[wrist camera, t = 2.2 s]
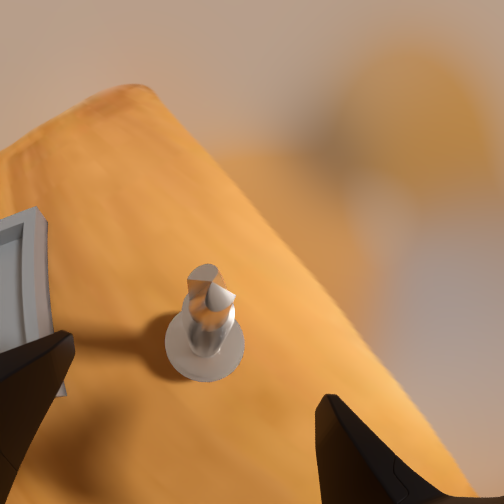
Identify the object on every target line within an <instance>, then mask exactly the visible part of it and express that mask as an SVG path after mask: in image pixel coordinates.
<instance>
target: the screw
mask: <svg viewBox="0 0 504 504" xmlns="http://www.w3.org/2000/svg"><path fill="white" fill-rule="evenodd" d="M187 283H188V292H189V293H188V294H187V295H186V297H185V299H184V302H183V306H182V311H181V312H180V313H179V314H177V315H176V316H175V317H174V318H173V320H172V321H171V323H170V324H169V326H168V329H167V331H166V336H165V349H166V353H167V356H168V358H169V360H170V362H171V364H172V365H173V366H174V368H175V369H176V370H177V371H178V372H179V373H181V374H182V375H183V376H185V377H187V378H189V379H191V380H194V381H199V382H213V381H217V380H220V379H222V378H224V377H226V376H228V375H229V374H230V373H232V372H233V371H234V370H235V369H236V367H237V366H238V365H239V363H240V361H241V359H242V357H243V353H244V336H243V332H242V330H241V328H240V325H239V324H238V322H237V321H236V320H235V318H234V316H235V308H234V304H233V302H234V299H235V297H236V295H234V294H233V293H231V292H229V291H227V287H226V284H225V282H224V279H223V277H222V275H221V273H220V271H219V270H218V269H217V267H216V266H214V265H212V264H204V265H201V266H199V267H197V268H196V269H194V270H193V271H192V272H191V273H190V275H189V277H188V279H187Z"/></svg>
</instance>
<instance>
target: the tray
mask: <svg viewBox="0 0 504 504" xmlns="http://www.w3.org/2000/svg"><path fill="white" fill-rule="evenodd" d="M47 232H48V222H47V220H46V219H45V218H44V216H43V215H42V213H41V212H40V211H39V209H38V208H37V206H35V207H33V208H30V209H27V210H24V211H22V212H19V213H16V214H14V215H11V216H9V217H6V218H3V219H1V220H0V353H2V352H5V351H7V350H10V349H13V348H15V347H18V346H21V345H23V344H26V343H29V342H31V341H34V340H37V339H39V338H42V337H45V336H47V335H50V334H53V333H54V329H53V322H52V314H51V305H50V295H49V281H48V257H47ZM62 396H67V393H66V389H65V385H64V381H63V383H62V385H61V387H60V389H59V391H58V393H57V395H56V397H62Z"/></svg>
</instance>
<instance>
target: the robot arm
mask: <svg viewBox="0 0 504 504" xmlns="http://www.w3.org/2000/svg"><path fill="white" fill-rule="evenodd" d="M74 356H75V346H74V339H73V335H72V334H71V333H69V332H67V331H65V330H61V331H58V332H55V333H53V334H50V335H47V336H45V337H42V338H39V339H37V340H34V341H31V342H29V343H26V344H23V345H21V346H18V347H15V348H13V349H10V350H7V351H5V352H2V353H0V504H5V502H6V500H7V497H8V494H9V492H10V489H11V487H12V484H13V482H14V480H15V477H16V475H17V471H18V470H19V468H20V465H21V463H22V461H23V459H24V457H25V454H26V452H27V450H28V448H29V446H30V444H31V442H32V440H33V438H34V436H35V434H36V432H37V430H38V428H39V426H40V424H41V422H42V420H43V418H44V417H45V415H46V413H47V411H48V409H49V407H50V406H51V404H52V402H53V400H54V398H55V397H56V395H57V393H58V391H59V389H60V387H61V385H62V383H63V381H64V378H65V376H66V374H67V372H68V369H69V367H70V365H71V363H72V361H73V358H74ZM315 448H316V458H317V466H318V474H319V482H320V491H321V500H322V504H504V496H501V497H493V498H492V497H491V498H473V497H454V496H449V495H446V494H444V493H442V492H441V491H439V490H438V489H437V488H435V487H434V486H433V485H431V484H430V483H428V482H427V481H426V480H425V479H423V478H422V477H421V476H419V475H418V474H417V473H416V472H414V471H413V470H412V469H411V468H410V467H409V466H407V465H406V464H405V463H404V462H403V461H402V460H401V459H400V458H399V457H398V456H397V455H395V453H394V452H393V451H392V450H391V449H390V448H389V447H388V446H387V445H386V444H385V443H384V442H383V441H382V440H381V439H380V438H379V437H378V436H377V435H376V434H375V433H374V432H373V431H372V430H371V429H370V428H369V427H368V426H367V425H366V424H365V423H364V422H363V421H362V420H361V419H360V418H359V417H358V416H357V415H356V414H355V413H354V412H353V411H352V410H351V409H350V408H349V407H348V406H347V405H346V404H345V403H344V402H343V401H342V400H341V399H340V398H339V396H337V395H335V394H325V395H324V396H323V398H322V400H321V401H320V403H319V405H318V406H317V408H316V411H315Z"/></svg>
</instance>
